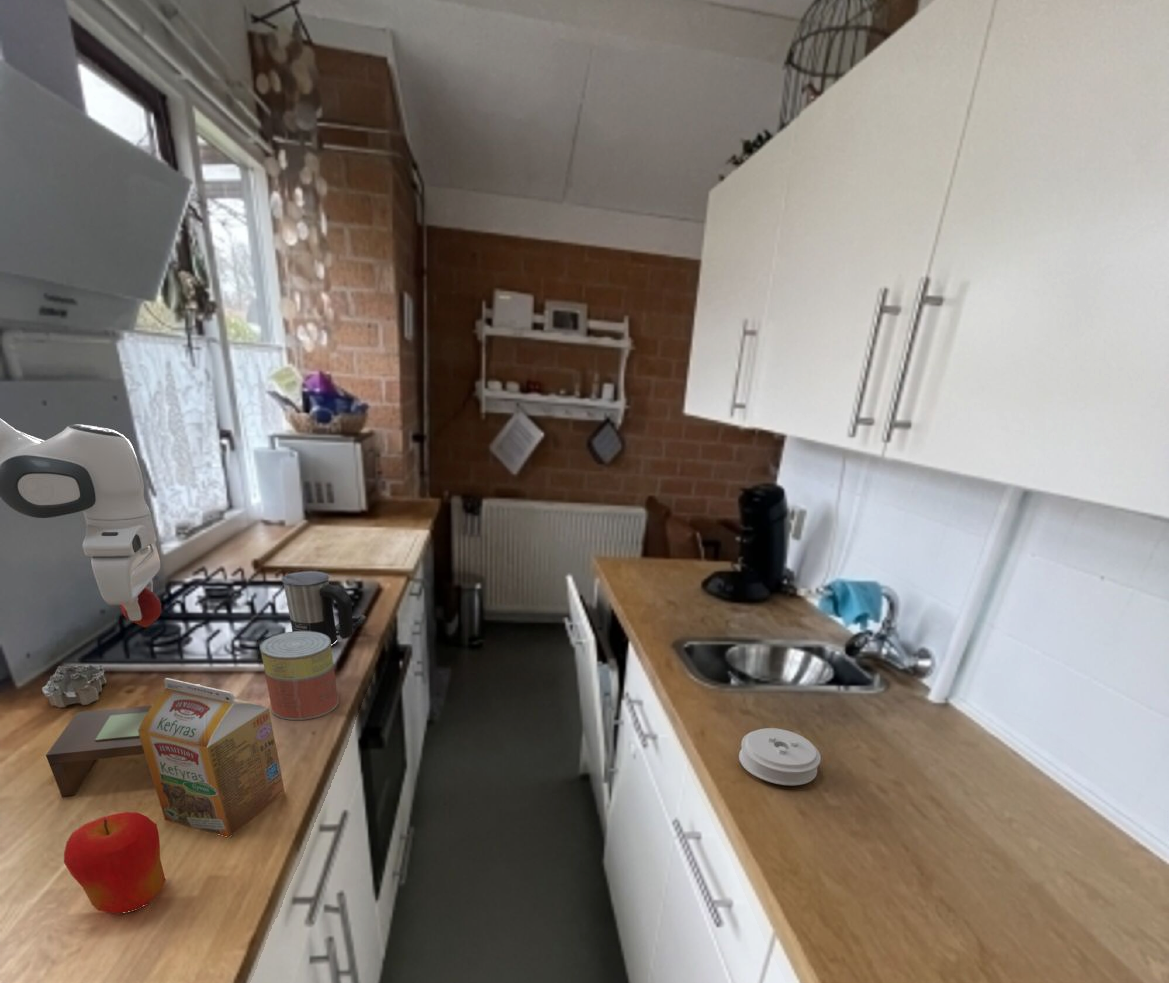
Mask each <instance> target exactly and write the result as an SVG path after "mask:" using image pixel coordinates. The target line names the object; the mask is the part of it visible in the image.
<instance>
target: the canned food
mask: <svg viewBox="0 0 1169 983" xmlns="http://www.w3.org/2000/svg"><path fill="white" fill-rule="evenodd" d="M259 651H260V654H261V658H262V664H263V670H264V675H265V681H266V685H267V692H268V697H269V702H270V711H271V713H272V714H273V715H274V716H276V717H277V718H280V719H283V720H289V721H304V720H305V721H307V720H311V719H316V718H319V717H322V716H325V715H327V714H329V713H331V712H332V711H334V710H335V709H336V708H337V707H338V705H339V702H340V699H339V696H338V689H337V681H336V673H335V666H334V659H333V651H332V647H331V639H330V638H329V637H328V636H327V635H325V634H322V633H318V632H312V631H294V632H292V631H288V632H283V633H279V634H275V635H273V636H270V637H268V638H266V639H265V640H263V641H262V642H261V644H259Z"/></svg>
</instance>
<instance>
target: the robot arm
mask: <svg viewBox="0 0 1169 983" xmlns="http://www.w3.org/2000/svg"><path fill="white" fill-rule="evenodd" d="M144 491H145V483H144V479H143V473H142V470H141V468H140V463H139V460H138V457H137V454H136V451H135V449H134V447H133V445H132V443H131V442H130V440H129V439H128V438H127V437H126V436H124V434H122V433H120V432H119V431H116V430H114V429H112V428H107V427H103V426H98V425H91V424H81V423H76V424H70V425H67V426H66V427H65V428H64V430H62V431H61V432H59V433H57V434H56V435H54V436H52V437H50V438H48V439H46V440H44V439H41V438H39V437H36V436H33V435H30V434H28V433H25V432H23V431H21V430H19V429H17V428H16V427H14V426H13V425H11V424H10V423H8V422H7V421H5V419H3V418H1V417H0V499H1V500H2V501H3V502H4V503H5V504H6V505H7V506H8V507H10V508H11V509H13V510H14V511H16V512H17V513H19V514H22V515H24V516H28V517H31V518H35V519H49V518H57V517H61V516H66V515H71V514H77V513H79V512H82V513H83V516H84V520H85V524H86V527H85V528H86V532H85V536H84V539H83V541H82V550H83V553H84V555H85V556H86V557H91V560H90V562H91V569H92V572H93V576H94V578H95V581H96V584H97V587H98V590H99V592H100V595H101V596H100V597H101V598H102V599H103V601H104V602H105V603H106V604H107V605H109V606H120V605H123V607H124V608H125V609H126V611H127V613H128V617H129V619H130V620H131V621H130V620H129V619H128V620H129V621H130V622H132V621H139V620H141V619H142V617H143V612H142V608H140V607H139V604H138V602H137V601H138V595H139V594H140V593H141V592H142V590H143V589H144V588H146V589H148V590H150V591H152V592H153V591H154V590H153V588H154V587H153V585H154V583H153V578H154V577H155V576H156V575H157V574H158V572H159V571H160V569H161V560H160V556H159V552H158V549H157V545H156V542H157V535H156V531H155V527H154V523H153V519H152V514H151V510H150V508H149V506H148V505H147V502H146V500H145V494H144ZM153 593H154V592H153Z"/></svg>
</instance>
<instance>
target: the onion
mask: <svg viewBox="0 0 1169 983" xmlns="http://www.w3.org/2000/svg"><path fill="white" fill-rule="evenodd" d="M137 602H138V604H139V607H140V608H142V612H143V617H142V619H141V620H139V621H131V620H130V619H129V617H128V613H127V611H126V609H125V608H124V607H123V605H119V607H120V608H119V609H120V610H121V613H122V615H123V616H124V617H125V618H126V619H127V620H129V621H130V622H132V623H135V624H136V625H138V626H141V627H142V628H148V627H149V626H151V625H152V624H153V623H154V622H155V621H157V620H158V619H159V618H160V616H161V615H162V611H163V610H162V602H161V600H160V598H159V597H158V596H157V594H155V593H154V592H152V591H150V590H148V589H146V588H144V589H143V590H142V592H141V593H140V594H139V595H138V601H137Z"/></svg>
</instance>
